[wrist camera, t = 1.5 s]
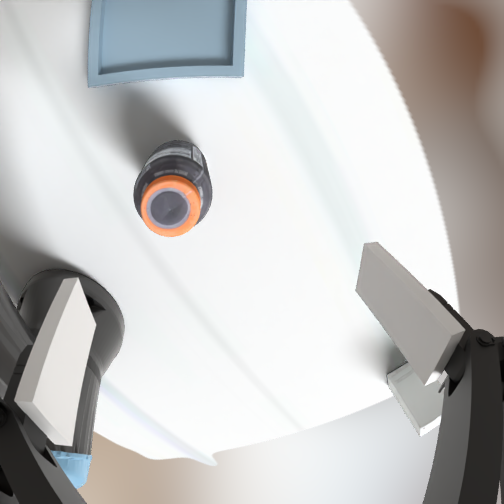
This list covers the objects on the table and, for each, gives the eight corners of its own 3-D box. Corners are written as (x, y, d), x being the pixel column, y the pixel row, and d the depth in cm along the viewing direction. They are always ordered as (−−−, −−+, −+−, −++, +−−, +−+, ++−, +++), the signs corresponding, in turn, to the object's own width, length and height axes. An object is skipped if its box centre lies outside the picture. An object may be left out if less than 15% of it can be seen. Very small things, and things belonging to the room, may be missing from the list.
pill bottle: (192, 206, 31) (193, 263, 22) (138, 185, 29) (113, 234, 19) (217, 153, 29) (230, 187, 19) (161, 130, 27) (143, 151, 17)
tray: (94, 87, 23) (87, 87, 22) (103, -36, 16) (98, -42, 15) (240, 77, 26) (243, 76, 24) (245, -45, 19) (249, -52, 17)
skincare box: (387, 386, 57) (417, 439, 45) (385, 373, 54) (418, 430, 41) (420, 366, 57) (452, 416, 44) (420, 352, 54) (456, 405, 41)
